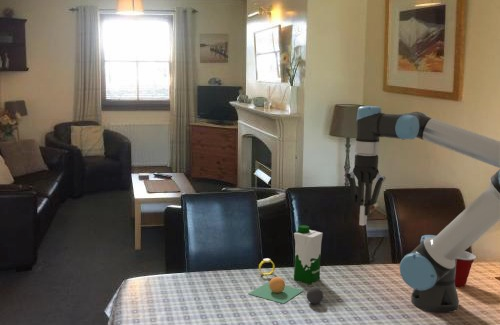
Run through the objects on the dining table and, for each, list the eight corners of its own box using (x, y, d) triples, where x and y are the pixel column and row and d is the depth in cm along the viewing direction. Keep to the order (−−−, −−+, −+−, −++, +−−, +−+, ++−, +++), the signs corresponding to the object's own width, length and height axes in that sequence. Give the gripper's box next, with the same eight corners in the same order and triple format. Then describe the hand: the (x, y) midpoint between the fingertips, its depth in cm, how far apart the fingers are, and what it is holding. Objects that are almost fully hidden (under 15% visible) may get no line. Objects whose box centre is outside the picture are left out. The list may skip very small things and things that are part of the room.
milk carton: (302, 273, 214) (304, 222, 211) (323, 279, 209) (325, 227, 206) (290, 280, 207) (291, 227, 204) (311, 286, 202) (313, 232, 199)
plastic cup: (478, 290, 201) (480, 258, 199) (447, 289, 201) (450, 257, 199) (467, 279, 212) (469, 248, 210) (438, 278, 212) (440, 247, 210)
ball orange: (272, 276, 199) (277, 291, 199) (264, 280, 194) (268, 296, 194) (285, 273, 196) (289, 289, 196) (277, 278, 191) (281, 294, 191)
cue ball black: (312, 282, 189) (309, 296, 191) (305, 288, 185) (302, 303, 186) (327, 287, 187) (324, 302, 189) (320, 294, 182) (317, 309, 184)
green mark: (303, 290, 198) (303, 290, 198) (283, 303, 186) (283, 303, 186) (269, 281, 205) (269, 281, 205) (248, 294, 194) (248, 293, 194)
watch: (260, 277, 211) (259, 261, 210) (258, 274, 213) (257, 259, 212) (275, 274, 212) (275, 259, 211) (273, 272, 215) (272, 257, 214)
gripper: (390, 154, 182) (385, 225, 186) (352, 150, 189) (349, 218, 193) (381, 157, 176) (377, 230, 180) (343, 153, 183) (340, 223, 187)
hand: (362, 224), depth 186 cm, fingers closed
